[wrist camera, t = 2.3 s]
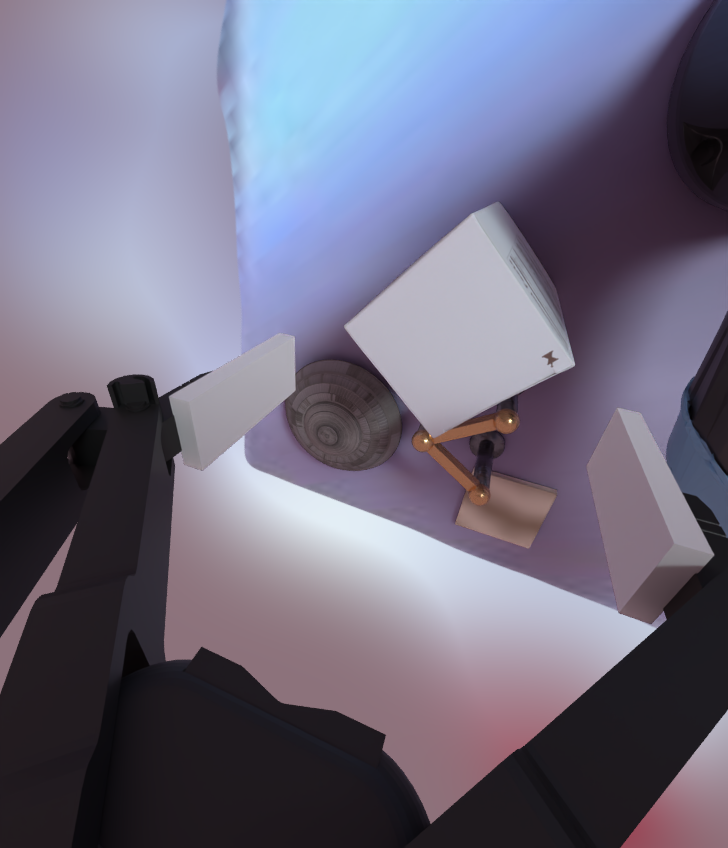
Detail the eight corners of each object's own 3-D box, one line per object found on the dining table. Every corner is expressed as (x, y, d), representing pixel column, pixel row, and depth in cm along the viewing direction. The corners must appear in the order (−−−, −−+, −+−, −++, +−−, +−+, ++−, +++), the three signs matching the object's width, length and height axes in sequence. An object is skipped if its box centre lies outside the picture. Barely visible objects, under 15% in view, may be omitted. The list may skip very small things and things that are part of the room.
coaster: (474, 465, 44) (473, 469, 43) (556, 489, 41) (557, 494, 41) (456, 519, 49) (455, 524, 48) (528, 543, 46) (528, 548, 46)
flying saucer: (275, 419, 51) (252, 440, 47) (318, 329, 42) (294, 345, 38) (367, 482, 51) (352, 510, 47) (430, 406, 42) (419, 431, 38)
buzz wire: (435, 342, 38) (411, 382, 30) (535, 364, 36) (538, 414, 28) (415, 436, 44) (391, 489, 36) (499, 460, 42) (493, 522, 34)
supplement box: (499, 197, 30) (478, 201, 17) (560, 291, 32) (587, 363, 19) (408, 276, 36) (337, 327, 22) (464, 353, 38) (431, 444, 24)
